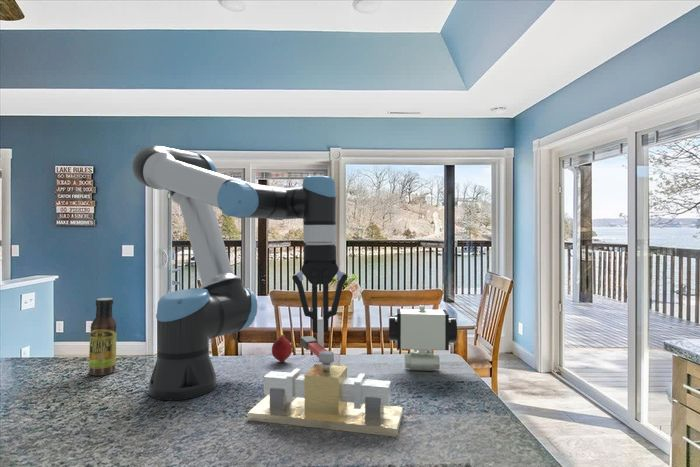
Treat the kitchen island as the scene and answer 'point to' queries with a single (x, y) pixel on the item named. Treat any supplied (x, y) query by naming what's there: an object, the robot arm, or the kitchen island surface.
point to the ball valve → (422, 335)
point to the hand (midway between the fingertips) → (320, 346)
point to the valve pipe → (328, 401)
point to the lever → (317, 349)
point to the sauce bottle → (103, 339)
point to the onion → (281, 349)
